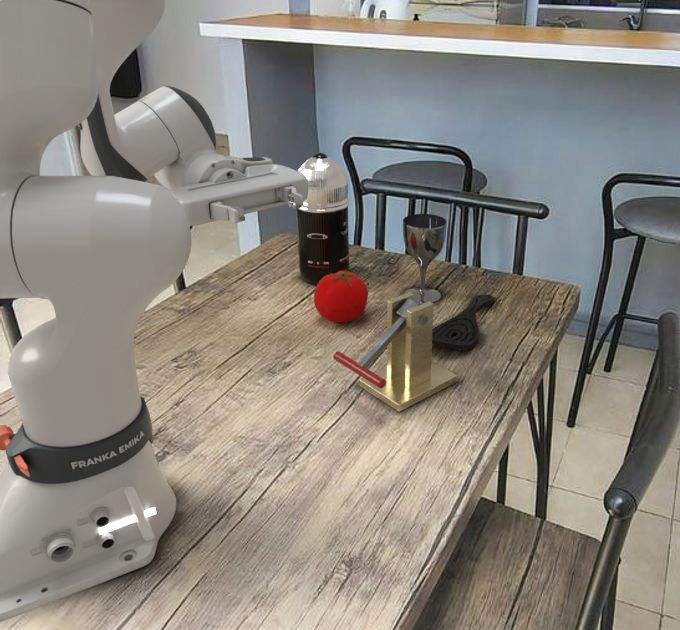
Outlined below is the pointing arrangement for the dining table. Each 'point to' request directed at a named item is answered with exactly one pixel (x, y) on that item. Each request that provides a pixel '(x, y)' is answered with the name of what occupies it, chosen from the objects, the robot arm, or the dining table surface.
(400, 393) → the bracket
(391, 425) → the dining table surface
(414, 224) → the metal goblet
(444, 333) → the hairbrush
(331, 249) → the black silver domed canister
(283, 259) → the dining table surface
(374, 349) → the lever
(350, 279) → the tomato
